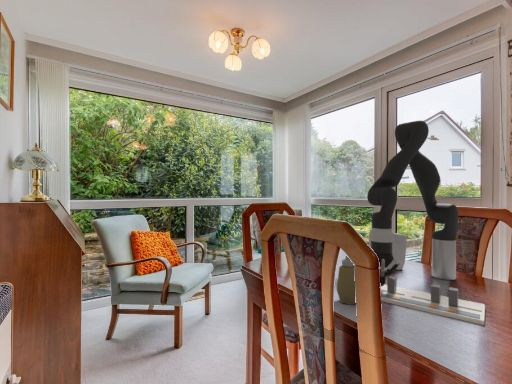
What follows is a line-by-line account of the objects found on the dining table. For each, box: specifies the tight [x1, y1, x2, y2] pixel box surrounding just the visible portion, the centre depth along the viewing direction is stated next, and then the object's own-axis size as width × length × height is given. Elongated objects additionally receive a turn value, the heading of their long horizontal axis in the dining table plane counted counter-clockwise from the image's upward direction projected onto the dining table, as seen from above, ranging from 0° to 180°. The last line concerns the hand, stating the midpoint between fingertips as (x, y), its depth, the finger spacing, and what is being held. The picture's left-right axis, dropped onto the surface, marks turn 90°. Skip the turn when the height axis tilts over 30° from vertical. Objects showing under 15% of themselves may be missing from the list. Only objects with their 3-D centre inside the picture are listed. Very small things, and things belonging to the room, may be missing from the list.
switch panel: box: [380, 284, 486, 326], centre depth 99 cm, size 16×32×2 cm, turn 51°
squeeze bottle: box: [336, 255, 355, 305], centre depth 100 cm, size 8×8×18 cm
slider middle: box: [430, 283, 442, 303], centre depth 97 cm, size 3×2×5 cm
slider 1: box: [386, 275, 398, 293], centre depth 106 cm, size 3×2×5 cm
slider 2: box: [448, 286, 459, 306], centre depth 94 cm, size 3×2×5 cm
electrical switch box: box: [368, 229, 408, 271], centre depth 147 cm, size 15×15×20 cm
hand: (381, 285), depth 109 cm, fingers closed
